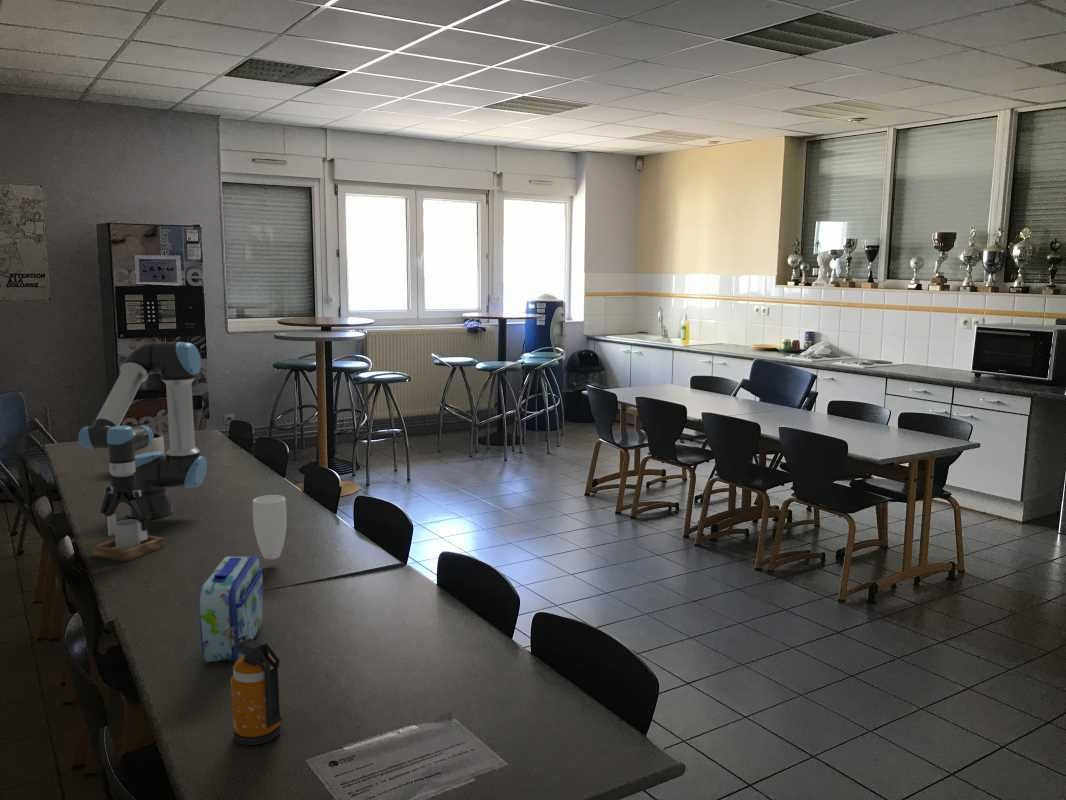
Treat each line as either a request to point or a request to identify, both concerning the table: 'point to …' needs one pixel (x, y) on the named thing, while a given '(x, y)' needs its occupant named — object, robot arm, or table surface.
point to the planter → (153, 445)
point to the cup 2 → (270, 524)
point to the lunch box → (230, 607)
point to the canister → (255, 694)
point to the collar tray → (112, 553)
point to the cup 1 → (126, 534)
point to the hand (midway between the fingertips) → (127, 537)
